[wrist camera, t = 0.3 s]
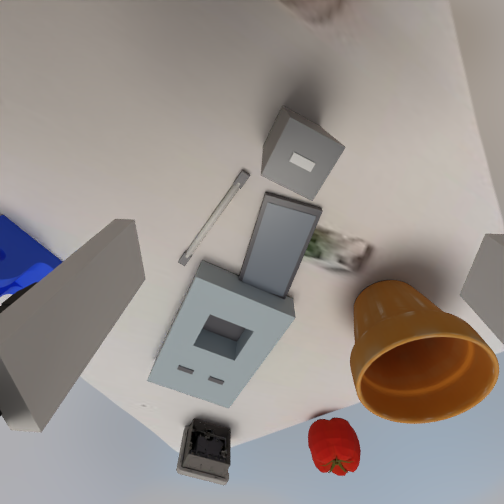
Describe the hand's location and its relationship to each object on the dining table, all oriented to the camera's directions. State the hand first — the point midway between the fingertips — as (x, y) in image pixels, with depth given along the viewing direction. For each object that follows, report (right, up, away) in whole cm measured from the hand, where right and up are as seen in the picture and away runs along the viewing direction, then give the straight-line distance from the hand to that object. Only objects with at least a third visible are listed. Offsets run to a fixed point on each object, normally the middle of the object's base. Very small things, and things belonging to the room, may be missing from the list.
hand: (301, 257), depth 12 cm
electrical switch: (-10, -34, +48) cm, 59 cm away
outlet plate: (-7, -12, +35) cm, 38 cm away
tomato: (+13, -33, +46) cm, 58 cm away
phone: (+1, +1, +28) cm, 28 cm away
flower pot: (+17, -7, +31) cm, 36 cm away
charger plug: (+2, +13, +21) cm, 24 cm away
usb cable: (-7, +4, +26) cm, 27 cm away
